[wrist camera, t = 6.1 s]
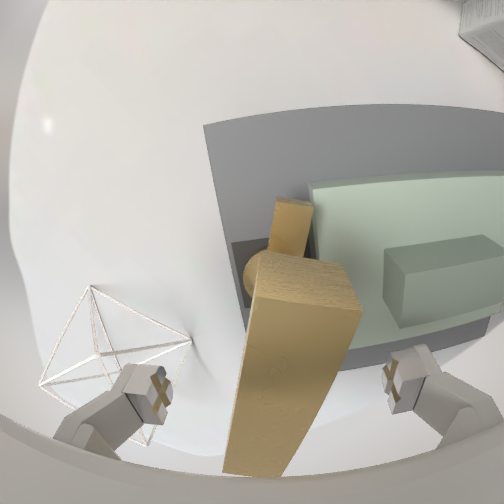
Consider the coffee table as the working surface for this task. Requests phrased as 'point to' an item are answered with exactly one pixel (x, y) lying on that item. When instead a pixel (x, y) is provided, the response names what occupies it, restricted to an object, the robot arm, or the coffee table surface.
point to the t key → (287, 345)
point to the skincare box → (484, 28)
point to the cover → (414, 248)
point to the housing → (340, 175)
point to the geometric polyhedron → (98, 355)
